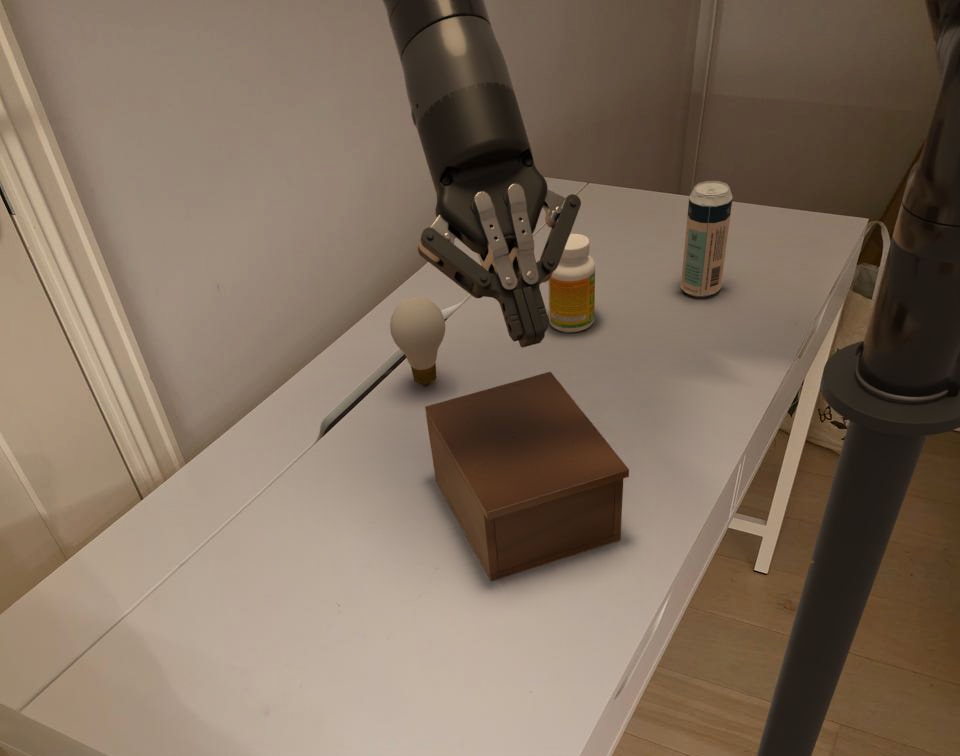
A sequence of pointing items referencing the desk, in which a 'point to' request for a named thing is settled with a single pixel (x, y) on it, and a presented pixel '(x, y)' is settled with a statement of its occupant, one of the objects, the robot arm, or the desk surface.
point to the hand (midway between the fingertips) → (533, 342)
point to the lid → (524, 444)
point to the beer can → (706, 238)
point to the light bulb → (419, 335)
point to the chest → (529, 521)
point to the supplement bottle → (573, 287)
